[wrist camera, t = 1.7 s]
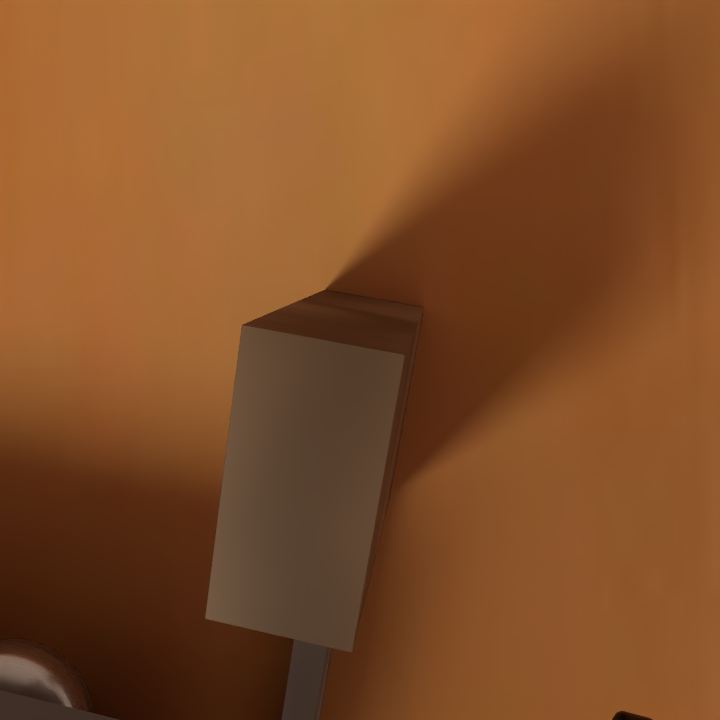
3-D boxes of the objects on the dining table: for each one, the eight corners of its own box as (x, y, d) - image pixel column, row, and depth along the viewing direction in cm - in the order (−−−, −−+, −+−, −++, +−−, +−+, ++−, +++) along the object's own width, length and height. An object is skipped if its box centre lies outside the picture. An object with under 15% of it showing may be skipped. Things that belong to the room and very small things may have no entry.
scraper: (249, 793, 24) (148, 1069, 16) (324, 289, 20) (241, 325, 12) (332, 814, 23) (270, 1107, 15) (424, 307, 20) (404, 354, 12)
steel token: (26, 778, 25) (-2, 813, 24) (-57, 674, 25) (-91, 704, 23) (123, 719, 24) (100, 753, 22) (37, 610, 24) (8, 637, 22)
